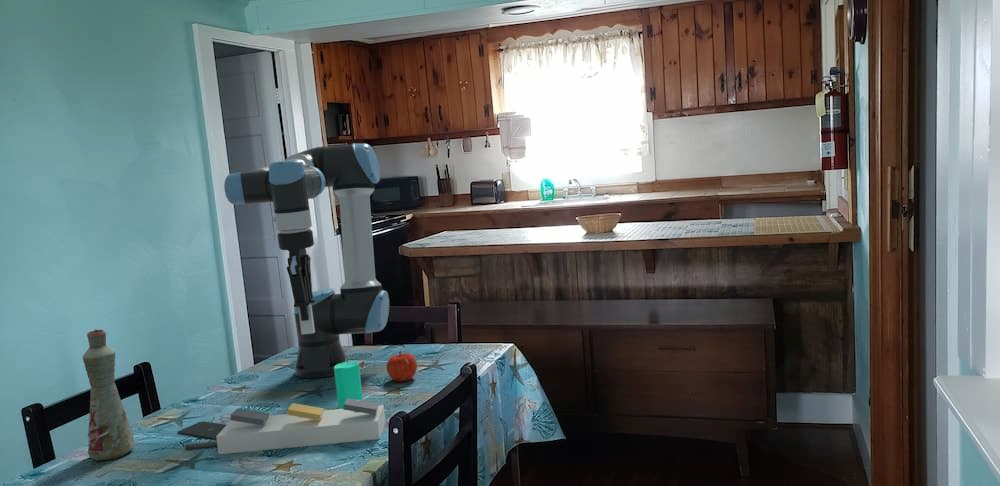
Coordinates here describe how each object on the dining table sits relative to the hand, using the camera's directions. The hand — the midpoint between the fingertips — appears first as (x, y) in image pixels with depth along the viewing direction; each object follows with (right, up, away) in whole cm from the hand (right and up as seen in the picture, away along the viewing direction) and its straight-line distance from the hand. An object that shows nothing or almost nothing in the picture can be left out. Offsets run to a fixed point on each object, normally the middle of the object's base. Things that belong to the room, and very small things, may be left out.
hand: (308, 332), depth 162 cm
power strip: (-4, -23, -6) cm, 24 cm away
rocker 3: (+13, -15, -7) cm, 22 cm away
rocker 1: (-11, -18, -8) cm, 22 cm away
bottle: (-41, -26, -6) cm, 49 cm away
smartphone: (-24, -24, +4) cm, 34 cm away
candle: (+7, -20, +12) cm, 24 cm away
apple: (+17, -17, +30) cm, 39 cm away
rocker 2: (+1, -17, -7) cm, 18 cm away
